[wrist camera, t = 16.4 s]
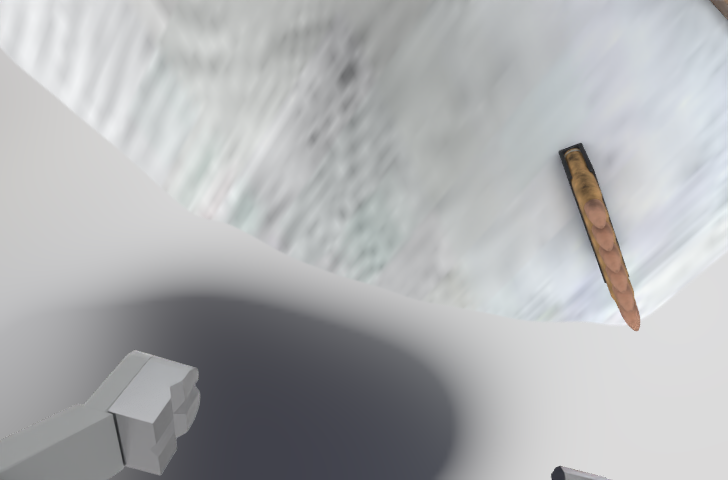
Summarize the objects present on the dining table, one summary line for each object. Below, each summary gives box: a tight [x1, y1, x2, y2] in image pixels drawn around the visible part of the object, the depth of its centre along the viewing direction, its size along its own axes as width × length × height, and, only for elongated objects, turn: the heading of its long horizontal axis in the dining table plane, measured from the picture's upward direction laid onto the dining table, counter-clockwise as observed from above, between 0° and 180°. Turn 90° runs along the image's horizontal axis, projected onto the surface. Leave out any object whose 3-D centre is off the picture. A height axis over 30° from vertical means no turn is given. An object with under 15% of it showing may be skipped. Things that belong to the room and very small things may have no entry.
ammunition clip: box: [559, 143, 640, 331], centre depth 37 cm, size 11×2×12 cm, turn 28°
